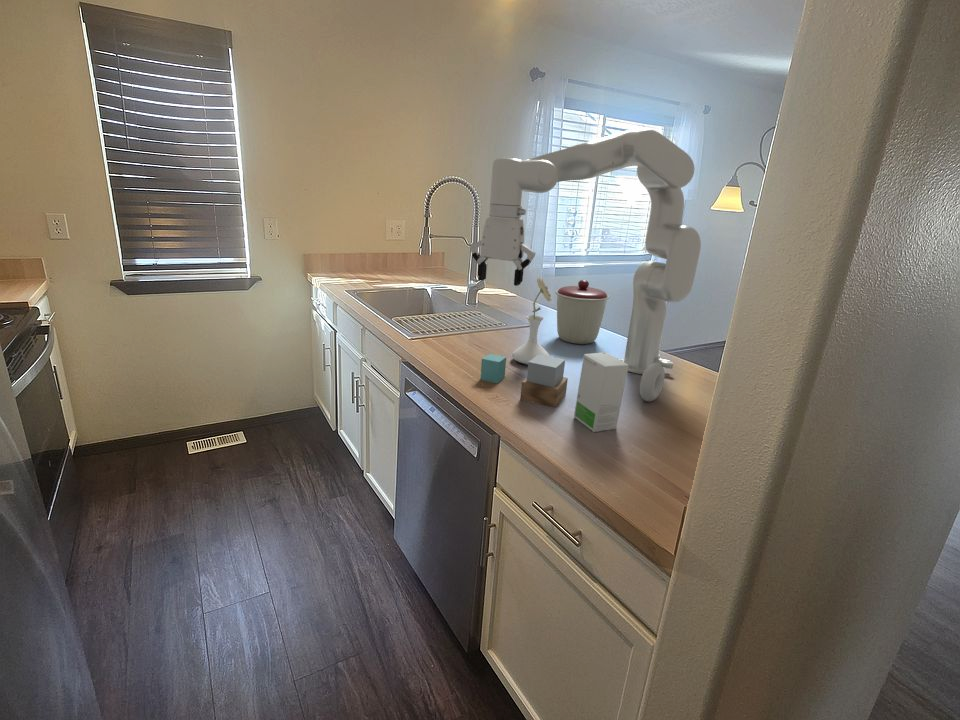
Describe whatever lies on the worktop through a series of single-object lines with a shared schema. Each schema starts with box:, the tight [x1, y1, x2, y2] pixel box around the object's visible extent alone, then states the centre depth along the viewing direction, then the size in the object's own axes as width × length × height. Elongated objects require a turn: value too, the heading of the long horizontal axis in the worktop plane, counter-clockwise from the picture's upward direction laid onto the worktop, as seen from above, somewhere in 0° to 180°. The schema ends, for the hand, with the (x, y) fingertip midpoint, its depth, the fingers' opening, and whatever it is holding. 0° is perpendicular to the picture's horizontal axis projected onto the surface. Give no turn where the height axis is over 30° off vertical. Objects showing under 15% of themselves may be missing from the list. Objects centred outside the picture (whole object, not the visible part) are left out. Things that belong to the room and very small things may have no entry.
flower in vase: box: [511, 277, 552, 365], centre depth 152 cm, size 13×11×25 cm
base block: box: [520, 376, 569, 409], centre depth 129 cm, size 9×9×5 cm
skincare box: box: [573, 351, 629, 433], centre depth 114 cm, size 8×7×16 cm
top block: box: [526, 355, 566, 387], centre depth 127 cm, size 7×7×5 cm
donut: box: [639, 363, 666, 402], centre depth 130 cm, size 10×3×10 cm, turn 141°
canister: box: [554, 279, 610, 345], centre depth 177 cm, size 18×18×21 cm
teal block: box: [480, 353, 507, 384], centre depth 139 cm, size 5×5×6 cm
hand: (499, 282), depth 131 cm, fingers open, 9 cm apart
